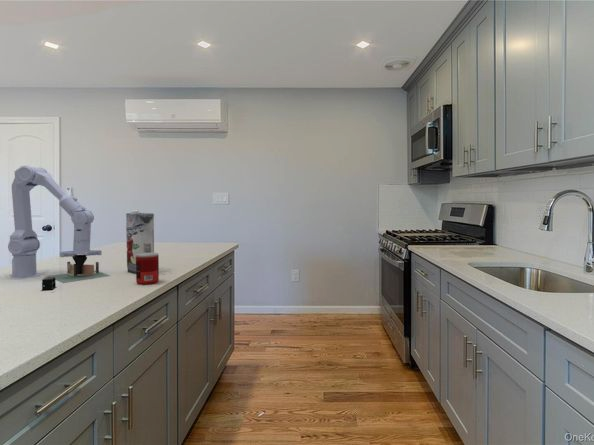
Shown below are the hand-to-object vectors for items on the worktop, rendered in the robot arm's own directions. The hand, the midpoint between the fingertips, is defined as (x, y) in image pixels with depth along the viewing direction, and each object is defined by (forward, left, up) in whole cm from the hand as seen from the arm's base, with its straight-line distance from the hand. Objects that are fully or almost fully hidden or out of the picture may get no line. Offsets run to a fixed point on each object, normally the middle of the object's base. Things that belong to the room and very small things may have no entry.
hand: (80, 273), depth 140 cm
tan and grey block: (-6, +3, -1) cm, 7 cm away
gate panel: (+1, +2, 0) cm, 2 cm away
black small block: (+14, -15, -2) cm, 20 cm away
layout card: (-1, 0, -1) cm, 1 cm away
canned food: (+29, +12, -1) cm, 32 cm away
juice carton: (+9, +20, -1) cm, 22 cm away
